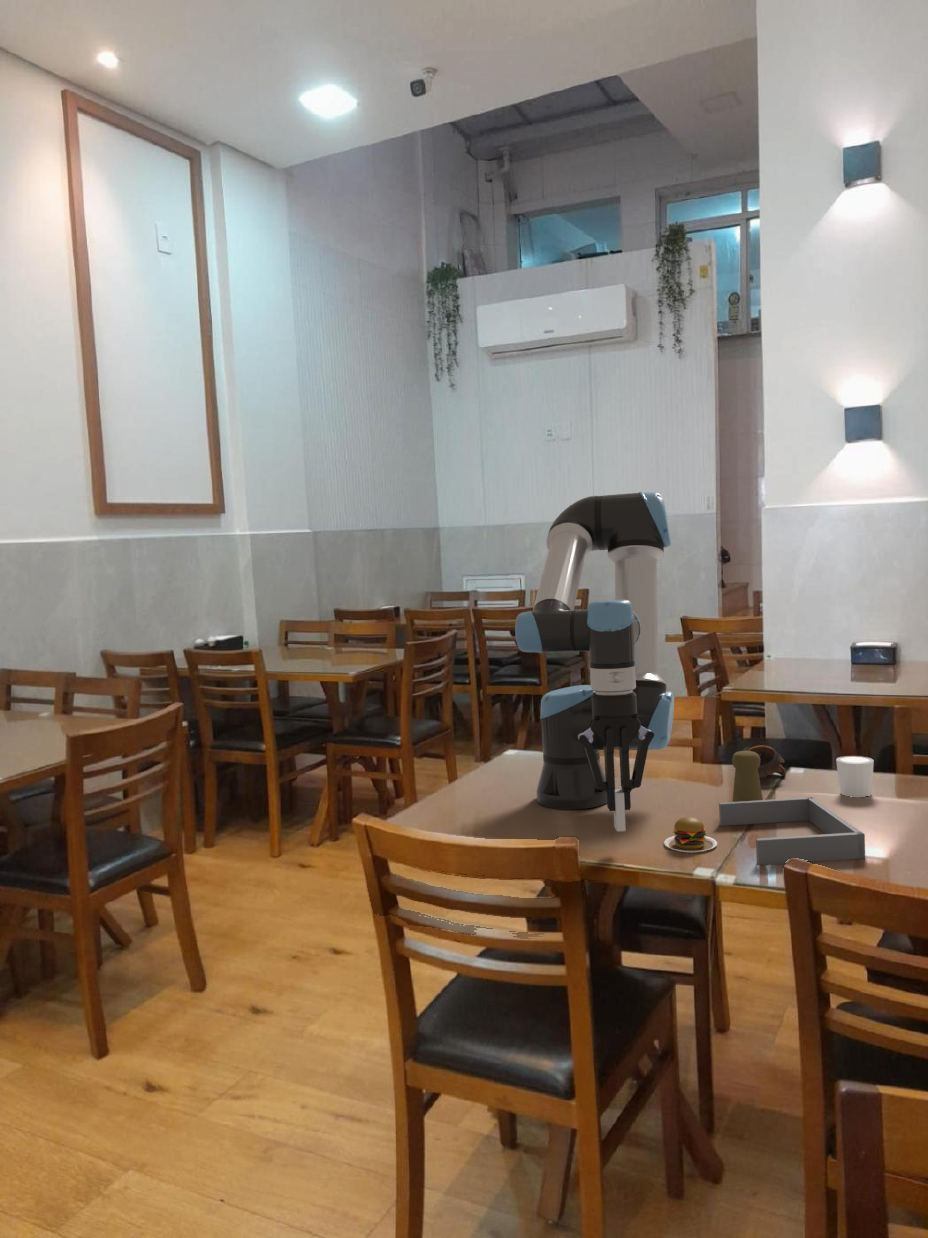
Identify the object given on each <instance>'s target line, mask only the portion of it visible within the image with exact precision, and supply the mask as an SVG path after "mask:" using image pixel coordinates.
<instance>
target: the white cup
mask: <svg viewBox="0 0 928 1238" xmlns="http://www.w3.org/2000/svg"><path fill="white" fill-rule="evenodd" d="M835 761H836V768H837V770H836V771H837V775H838V784H839V791H840V792H839V793H840V795H841V794H842V795H841V796H843V795H846V796H852V797H865V796H869V795H872V789H873V776H874V764H875V763H874V761H875V760H874V759H872V758H871V757H868V756H861V755H846V756H840V757H839V756H838V757H837V758H836V760H835ZM846 796H845V797H846ZM852 797H851V798H852ZM869 797H870V796H869ZM865 798H866V797H865Z"/></svg>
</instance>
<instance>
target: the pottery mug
mask: <svg viewBox="0 0 928 1238" xmlns="http://www.w3.org/2000/svg"><path fill="white" fill-rule="evenodd" d="M741 751H752V752H756V753H757V754H758V755H759V754H761V755H759V757H760V766H759V768H758V774H759V779H761V778H763V779H764V778H767V777H768V776H771V775H774V774H775V773H776V774H778V775H781V776H782V777H783V776H784V777H783V778H786V771H787V770H786V768H784V767H783V765H782V763H784V764H785V759H783V757H782V756H781V754H780V753H778V751H777V750H776V748H773V747H772V746H769V745H764V744H762V745H755V746H752V747H744V748H742V750H741Z"/></svg>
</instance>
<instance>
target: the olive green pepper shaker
mask: <svg viewBox="0 0 928 1238" xmlns="http://www.w3.org/2000/svg"><path fill="white" fill-rule="evenodd" d="M759 756H760V755H759V754H757V753H756V752H752V751H742V750H741V751H736V752H734V754H733V755H732V758H731V763H732V766H733V768H734V769H735V770H734V778H733V779H734V782H733V791H732V800H731V802H740V801H757V800H764V798H763V792H762V787H761V780H760V778H759V774H758V768H759V766H760V757H759Z"/></svg>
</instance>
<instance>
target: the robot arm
mask: <svg viewBox="0 0 928 1238" xmlns="http://www.w3.org/2000/svg"><path fill="white" fill-rule="evenodd" d="M667 517H668V516H667V511H666V505H665V501H664V497H663V496H662V495H661V494H660V493H658V492H656V491H655V492H653V491H652V492H650V491H649V492H642V491H639V492H632V493H620V494H619V493H618V494H605V495H591V496H586V497H584V498H582V499H579V500H577V501H575V502H573V503H572V504H570V505H569V506H568V507H566V508H565V509H564V510H563V511H562V512H561V513H560V514H559V515H558V516H557V517H556V519H554V521H553V522H552V524H551V525H550V528H549V530H548V534H547V537H546V548H547V550H548V553H547V555H546V560H545V563H544V565H543V567H544V568H543V570H542V575H541V578H540V581H539V585H538V589H537V594H536V597H535V601H534V604H533V608H532V611H531V610H528V611H524V612H520V613H519V614H517V616H516V618H515V619H516V620H515V627H514V630H515V631H514V633H515V641H516V645H517V647H518V649H519V650H520V651H521V652H523V653H538V654H544V653H547V654H549V653H564V652H565V653H568V652H569V653H570V652H589V670H590V671H589V672H590V673H589V674H590V684H582V685H581V684H579V685H573V686H568V687H563V688H557V689H554V690H551V691H549V692H547V693H545V694H544V695H543V696H542V698H541V699H540V715H539V719H540V723H541V724H540V725H541V742H542V755H543V760H542V761H543V766H542V769H541V773H540V776H539V779H538V783H537V787H536V801H537V803H538V804H539V805H541V806H543V807H545V808H546V807H547V808H549V809H550V808H551V809H556V810H557V809H558V810H583V809H585V810H586V809H592V808H597V807H601V806H603V805H606V807H607V808H608V810H609V811H610V812H613V827H614V829H615V831H616V832H626V831H627V830H626V828H627V826H626V811H630V810H631V808H632V807H631V806H632V805H631V803H632V802H631V792H632V790H634V789H636V788H640V787H641V785H642V781H643V775H644V770H645V765H646V762H647V761H646V760H647V757H648V756H647V755H648V752H649V751H657V750H659V751H661V750H663V749H665V748H667V746H668V745H669V743H670V739H671V735H672V729H673V728H672V727H673V722H674V721H673V720H674V711H675V708H674V706H675V705H674V704H675V694H674V692H672V691H670V690H667V682H666V680H664V679H663V678H661V676H660V675H659V632H658V631H659V630H658V629H659V628H658V626H659V625H658V621H659V620H658V618H659V617H658V575H657V574H658V572H657V570H658V569H657V567H658V566H657V564H658V562H659V561H660V560H661V559H663V557H664V555H665V551H664V550H665V548H668V547H670V546H671V545H672V542H671V534H670V528H669V522H668V518H667ZM593 551H607V558H608V559H609V560H610V561H612V563H614V580H615V581H614V598H615V599H604V600H603V599H601V600H593V601H591V602H589V604H588V606H587V609H575V606H576V601H577V597H578V593H579V589H580V588H579V587H580V582H581V579H582V573H583V567H584V564H585V563H584V562H585V559H586V558H587V557H588V556H589V555H590V554H591V552H593ZM600 751H603V754H604V755H603V756H604V768H603V766H602V765H603V764H602V763H601V753H600ZM615 751H618V752H619V753H618V755H619V772H620V773H619V774H620V776H619V777H620V787H621V789H620V788H618V789H617V788H616V779H615V777H616V776H615V757H614V755H615ZM630 751H636V755H635V758H634V764H633V770H632V775H631V773H630V772H631V769H630Z"/></svg>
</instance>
